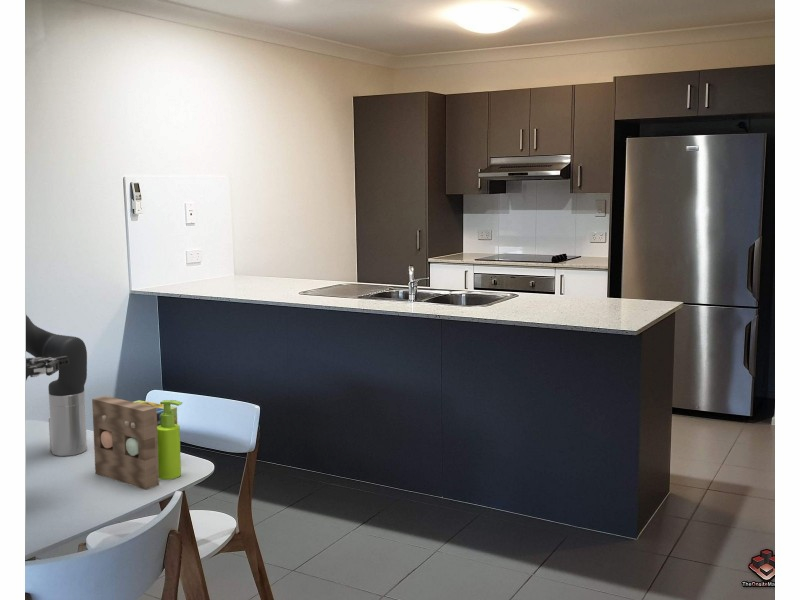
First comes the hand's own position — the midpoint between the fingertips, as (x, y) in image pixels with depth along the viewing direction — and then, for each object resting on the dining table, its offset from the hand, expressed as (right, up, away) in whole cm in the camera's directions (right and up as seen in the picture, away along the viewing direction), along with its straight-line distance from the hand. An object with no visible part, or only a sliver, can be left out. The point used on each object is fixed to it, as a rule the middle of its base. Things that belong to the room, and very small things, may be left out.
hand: (68, 360), depth 188 cm
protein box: (+12, -30, +21) cm, 38 cm away
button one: (+7, -23, +10) cm, 26 cm away
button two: (+15, -24, +4) cm, 29 cm away
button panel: (+11, -31, +8) cm, 34 cm away
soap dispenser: (+22, -31, +11) cm, 40 cm away
